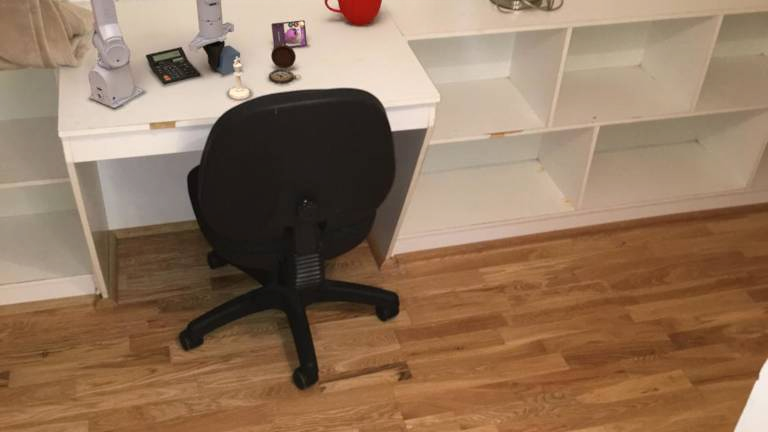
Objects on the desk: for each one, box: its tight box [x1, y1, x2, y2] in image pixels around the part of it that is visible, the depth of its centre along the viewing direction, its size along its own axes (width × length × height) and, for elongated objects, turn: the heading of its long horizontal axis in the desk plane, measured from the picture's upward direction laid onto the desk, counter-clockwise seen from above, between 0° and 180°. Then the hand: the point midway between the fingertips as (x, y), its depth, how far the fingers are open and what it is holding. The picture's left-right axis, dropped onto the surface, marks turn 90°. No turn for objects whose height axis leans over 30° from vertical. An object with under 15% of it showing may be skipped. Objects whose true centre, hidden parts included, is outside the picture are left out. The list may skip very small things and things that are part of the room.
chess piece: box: [228, 57, 250, 100], centre depth 188 cm, size 5×5×10 cm
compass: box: [268, 44, 302, 85], centre depth 197 cm, size 8×8×7 cm
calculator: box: [145, 46, 201, 86], centre depth 197 cm, size 9×12×3 cm
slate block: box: [215, 44, 241, 76], centre depth 199 cm, size 5×5×5 cm
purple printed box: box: [270, 19, 308, 49], centre depth 212 cm, size 7×5×9 cm
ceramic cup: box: [324, 0, 383, 27], centre depth 222 cm, size 13×17×10 cm
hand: (214, 67), depth 198 cm, fingers closed, pressing on slate block
